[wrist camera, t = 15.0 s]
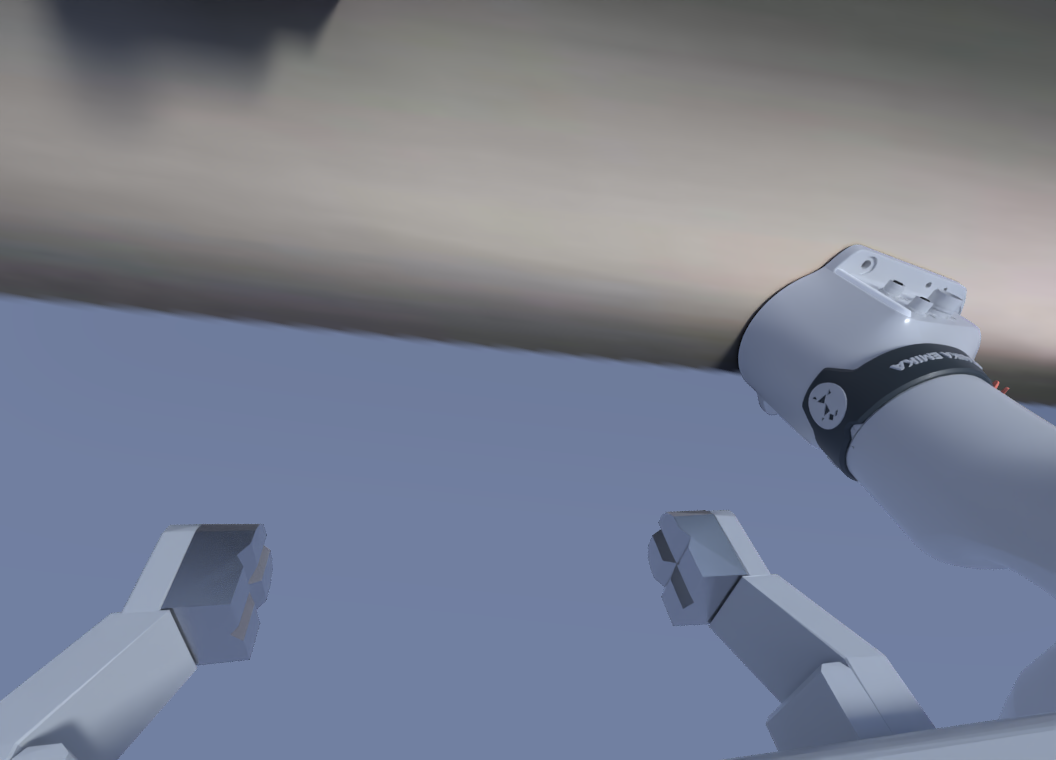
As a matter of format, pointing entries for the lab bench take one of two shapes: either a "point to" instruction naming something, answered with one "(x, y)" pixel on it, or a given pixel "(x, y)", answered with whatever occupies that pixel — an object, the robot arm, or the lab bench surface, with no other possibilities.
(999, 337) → the lab bench surface
